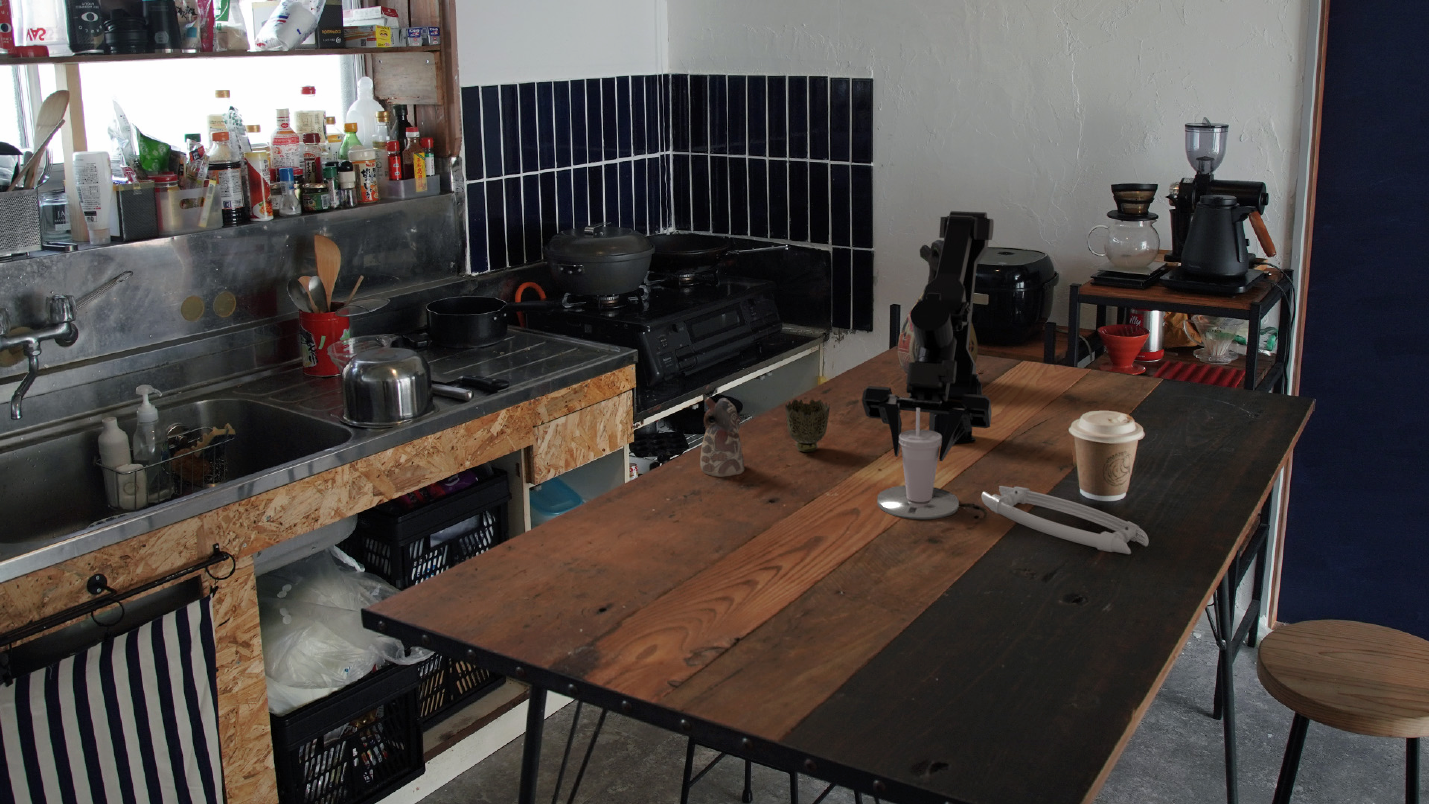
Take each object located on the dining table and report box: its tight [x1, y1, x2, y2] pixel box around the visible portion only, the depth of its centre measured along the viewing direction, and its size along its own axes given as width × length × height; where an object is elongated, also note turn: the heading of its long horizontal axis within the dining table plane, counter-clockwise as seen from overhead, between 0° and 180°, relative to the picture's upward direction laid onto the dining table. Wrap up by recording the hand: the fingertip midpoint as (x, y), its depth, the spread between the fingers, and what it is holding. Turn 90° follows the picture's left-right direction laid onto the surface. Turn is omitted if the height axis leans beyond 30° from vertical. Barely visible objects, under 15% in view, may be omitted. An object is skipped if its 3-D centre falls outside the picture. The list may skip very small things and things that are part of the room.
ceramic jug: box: [897, 239, 979, 375], centre depth 239 cm, size 17×15×30 cm
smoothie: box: [899, 408, 942, 502], centre depth 183 cm, size 6×6×14 cm
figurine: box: [699, 397, 746, 478], centre depth 199 cm, size 7×7×12 cm
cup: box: [784, 398, 831, 453], centre depth 208 cm, size 8×7×8 cm
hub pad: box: [876, 485, 960, 521], centre depth 185 cm, size 12×12×1 cm
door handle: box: [981, 485, 1149, 555], centre depth 177 cm, size 3×10×25 cm
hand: (918, 457), depth 181 cm, fingers closed on smoothie, 6 cm apart
